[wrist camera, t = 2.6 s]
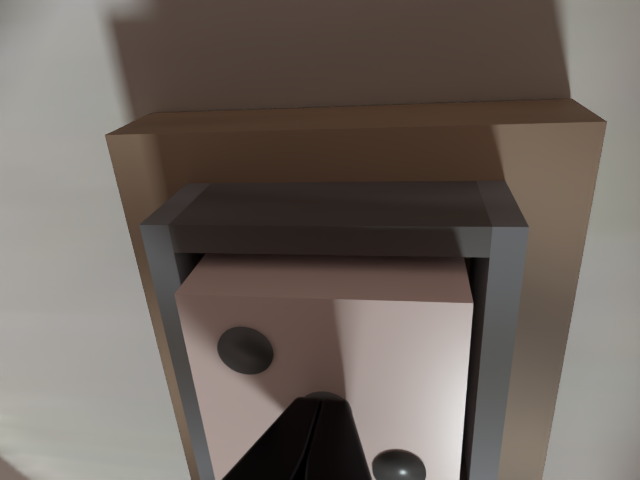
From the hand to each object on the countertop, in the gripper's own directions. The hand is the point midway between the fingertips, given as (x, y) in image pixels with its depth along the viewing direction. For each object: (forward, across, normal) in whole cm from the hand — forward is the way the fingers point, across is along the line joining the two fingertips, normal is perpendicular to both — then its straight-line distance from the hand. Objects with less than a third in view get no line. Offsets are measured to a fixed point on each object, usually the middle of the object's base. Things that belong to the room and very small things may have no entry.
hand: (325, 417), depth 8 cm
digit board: (+5, 0, +7) cm, 9 cm away
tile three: (+2, 0, 0) cm, 2 cm away
